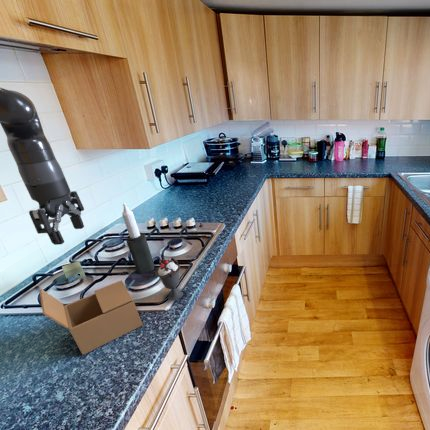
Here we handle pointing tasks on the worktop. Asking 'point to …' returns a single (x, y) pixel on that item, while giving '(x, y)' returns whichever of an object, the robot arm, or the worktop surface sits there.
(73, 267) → the block
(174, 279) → the sundae
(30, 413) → the worktop surface
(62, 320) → the carton flap
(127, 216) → the candle
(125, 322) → the carton
